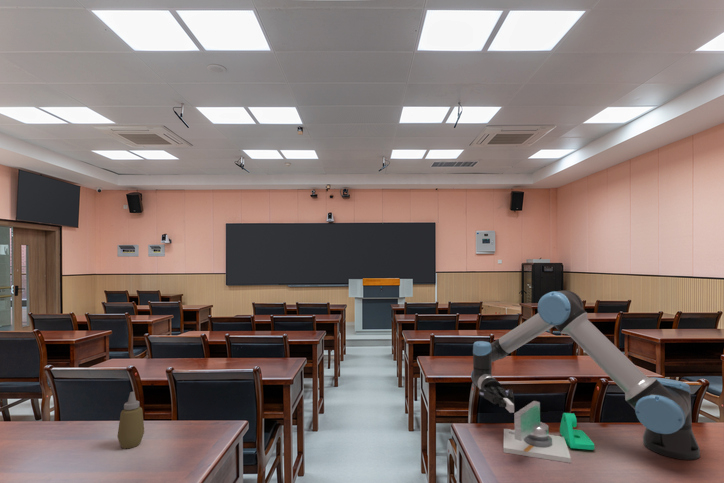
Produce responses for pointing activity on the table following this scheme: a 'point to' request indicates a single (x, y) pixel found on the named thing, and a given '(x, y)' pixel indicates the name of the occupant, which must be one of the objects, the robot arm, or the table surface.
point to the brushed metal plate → (530, 423)
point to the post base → (537, 447)
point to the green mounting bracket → (574, 433)
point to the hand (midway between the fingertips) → (512, 408)
